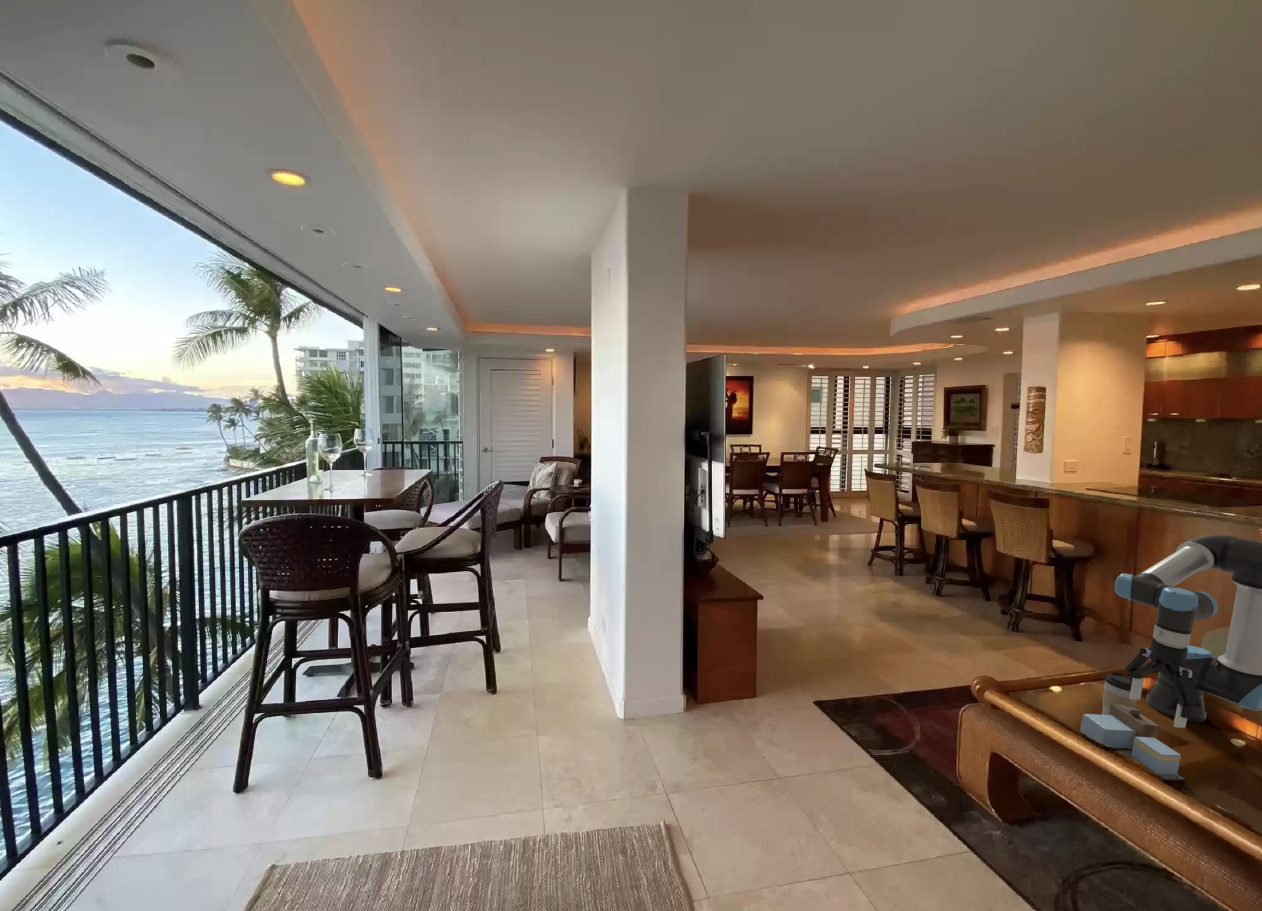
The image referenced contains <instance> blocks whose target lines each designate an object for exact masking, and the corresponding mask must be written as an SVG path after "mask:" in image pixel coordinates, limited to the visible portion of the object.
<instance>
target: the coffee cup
mask: <svg viewBox="0 0 1262 911" xmlns="http://www.w3.org/2000/svg"><path fill="white" fill-rule="evenodd" d="M1130 681H1131V676H1128V675H1127V676H1126V675H1124V674H1122V673H1120V672H1116V671H1115V672H1112V673H1110V674H1108V675H1107V674H1106V676H1105V678H1104V686H1103V696H1102V711H1101V712H1102V713H1101V715H1109V712H1110V707H1111V704H1121V705H1127V706H1129V707H1130V708H1131V707H1132V708H1136V704H1137V701H1138V700H1133V699H1130V698H1129V696H1130V691H1131V686H1130Z"/></svg>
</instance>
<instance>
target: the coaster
mask: <svg viewBox="0 0 1262 911" xmlns="http://www.w3.org/2000/svg"><path fill="white" fill-rule="evenodd" d="M1117 750H1118V749H1117ZM1118 751H1120V752H1123V754H1124V756H1127V757H1129V758H1131V759H1133V760H1135V761H1137V762H1139V763H1140V764H1141V765H1143V766H1145V765H1144V764H1143V763H1141V762H1140V761H1138V760H1137V759H1136V758H1134V757H1133V756H1131V753H1132V750H1118ZM1145 767H1146V768H1147V769H1149V770H1150V771H1152V770H1151V769H1150V768H1148V767H1147V766H1145ZM1152 772H1154V771H1152ZM1154 774H1156V775H1159V776H1161V777H1163V778H1164V779H1184V778H1183V777H1182V776H1180V775H1179V774H1178V773H1177V774H1157V773H1155V772H1154ZM1176 777H1178V778H1176ZM1180 777H1181V778H1180Z"/></svg>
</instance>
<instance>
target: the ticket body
mask: <svg viewBox="0 0 1262 911" xmlns="http://www.w3.org/2000/svg"><path fill="white" fill-rule="evenodd" d="M1079 732H1080V733H1081V734H1083V735H1084V734H1085V735H1086V736H1085V735H1084V736H1085V737H1087V738H1088V739H1089V738H1091V739H1093V740H1095V741H1096V742H1098V743H1101V744H1103V745H1105V746H1107V747H1112V748H1111V749H1123V748H1128V750H1132V748H1133V744H1134V739H1135V735H1136V730H1134V729H1133V728H1131V727H1130V726H1128V725H1127V724H1125V723H1124V722H1122V721H1121V720H1120V719H1118V718H1117V717H1115V716H1114V715H1102V714H1095V713H1094V714H1093V713H1082V719H1081V724H1080V728H1079ZM1091 739H1090V740H1091Z"/></svg>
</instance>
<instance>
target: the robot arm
mask: <svg viewBox="0 0 1262 911" xmlns="http://www.w3.org/2000/svg"><path fill="white" fill-rule="evenodd" d="M1209 569H1211V570H1212V569H1214V570H1219V571H1223V572H1226V573H1230V574H1232V575H1231V581H1232V583H1234V584H1235V585H1236V592H1235V598H1234V603H1233V608H1232V614H1231V620H1230V625H1229V630H1228V636H1227V641H1226V648H1225V653H1224V654H1220V655H1219V656H1217V658H1213V653H1212V652H1211V651H1209V650H1207V649H1205V648H1202V647H1198V646H1194V645H1190V642H1191V636H1192V633H1193V632H1192V631H1193V627H1194V622H1197V621H1201V620H1206V619H1209V618H1211V617H1213V616H1214V615H1216V614H1217V613H1218V610H1219V603H1218V601H1217V599H1215V597H1214V596H1213V595H1211V594H1209V593H1207V592H1205V591H1198V590H1197V591H1196V590H1193V591H1190V590H1187V589H1184V588H1180V587H1175V586H1177V585H1178V584H1180V583H1182V582H1183V581H1184V580H1186V579H1188V578H1189V577H1191V576H1192V575H1194V574H1196V573H1197V572H1200V571H1201V572H1202V571H1207V570H1209ZM1114 592H1115V594H1116V595H1117V596H1119V597H1122V598H1124V599H1127V600H1129V601H1133V602H1135V603H1140V604H1142V605H1146V606H1149V607H1152V608H1156V609H1157V612H1156V618H1155V622H1154V626H1153V627H1154V628H1153V633H1152V637H1153V638H1152V639H1151V641H1150V647H1149V648H1148V647H1141V648H1140V649H1139V653H1138V654H1136V656H1135V657H1134V658H1133V659H1132V660H1131V662H1129V664H1128V665H1126V667H1125V668H1124V669H1125V670H1124V671H1125V672H1127V673H1129V674H1130V678H1131V681H1130V686H1131V691H1130V696H1129V698H1130V699H1133V700H1137V701H1140V700H1141V697H1142V691H1143V686H1144V681H1145V679H1144V678H1143V677H1144V676H1147V675H1149V674H1150V673H1152V672H1154V671H1156V672H1157V673H1158V675H1157V680H1156V682H1155V684H1154V685H1153V686H1152V688H1151V689H1150V691H1148V692H1147V695H1146V698H1145V701H1146V703H1147V704H1148V705H1149V706H1151V707H1152V708H1153V709H1155V710H1157V711H1158V712H1160V713H1163V714H1165V715H1168V716H1170V717H1173V718H1174V720H1173V725H1172V726H1173V727H1175V728H1178V729H1179V728H1180V729H1181V728H1184V729H1186V725H1187V722H1193V723H1204V722H1205V721H1206V718H1207V710H1206V709H1205V701H1204V693H1207V694H1210V695H1212V696H1215V697H1217V698H1219V699H1221V700H1224V701H1226V702H1229V703H1232V704H1234V705H1235V706H1237V707H1242V708H1245V709H1248V710H1251V711H1257V712H1258V711H1260V710H1262V541H1259V540H1253V539H1246V538H1242V537H1238V536H1237V537H1236V536H1232V535H1227V534H1226V535H1225V534H1213V535H1206V536H1205V535H1204V536H1200V537H1196V538H1192V539H1190V540H1187V541H1185V542H1183V543H1181V544H1180V545H1179V546H1178V547H1176V549H1175V552H1174V553H1172V554H1171V555H1169V556H1167V557H1165V558H1164V559H1162V560H1161V561H1158V562H1157V563H1155V564H1154V565H1152V566H1150V567H1149V568H1147V569H1145V570H1144V571H1142V572H1141V573H1139V574H1137V575H1133V574H1129V573H1120V575H1118V576H1117V578H1116V580H1115V581H1114ZM1149 659H1150V661H1149V662H1147V661H1148V660H1149ZM1146 662H1147V663H1146Z"/></svg>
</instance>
